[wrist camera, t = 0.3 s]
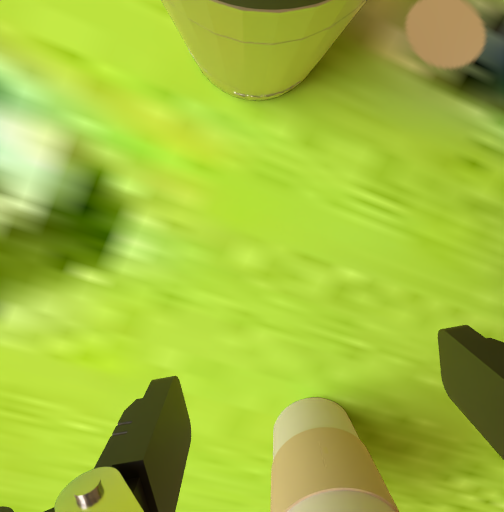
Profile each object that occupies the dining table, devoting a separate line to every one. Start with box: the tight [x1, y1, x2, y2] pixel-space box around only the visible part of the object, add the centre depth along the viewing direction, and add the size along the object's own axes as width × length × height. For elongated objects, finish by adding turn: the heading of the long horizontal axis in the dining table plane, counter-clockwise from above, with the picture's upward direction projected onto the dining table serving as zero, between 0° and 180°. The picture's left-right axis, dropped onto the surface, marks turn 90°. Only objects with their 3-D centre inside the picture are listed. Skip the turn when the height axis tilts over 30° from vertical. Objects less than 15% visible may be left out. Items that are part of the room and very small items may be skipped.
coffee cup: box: [271, 398, 399, 512], centre depth 26 cm, size 9×9×15 cm
